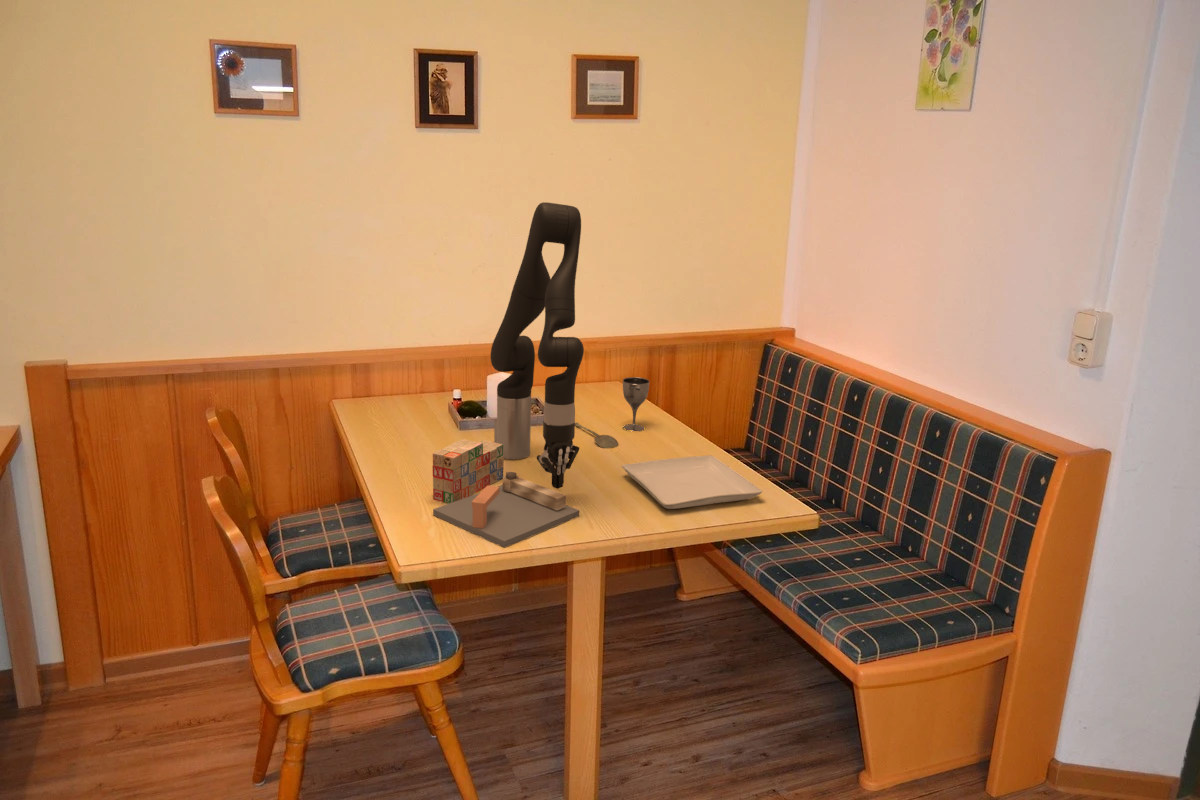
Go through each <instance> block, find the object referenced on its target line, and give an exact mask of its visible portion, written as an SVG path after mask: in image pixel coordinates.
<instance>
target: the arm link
mask: <svg viewBox="0 0 1200 800" xmlns="http://www.w3.org/2000/svg"><path fill="white" fill-rule="evenodd" d="M502 485H503V490H504V491H506V492H511V493H514V494H516V495H519V496H521V497H524V498H526V499H529V500H531V501H534V502H536V503H539V504H541V505H544V506H546V507H549V508H551V509H554V510H560V509H562V508H565V507H566V505H567V495H566V494H563V493H561V492H558V491H557V490H556V491H555V490H553V489H550V488H548V487H545V486H543V485H540V484H538V483H535V482H533V481H529V480H527V479H524V478H521V477H520V476H519V475H517V472H514V471H507V472H506V473H505V475H503V478H502Z"/></svg>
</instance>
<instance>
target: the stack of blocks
mask: <svg viewBox="0 0 1200 800" xmlns="http://www.w3.org/2000/svg"><path fill="white" fill-rule="evenodd" d="M503 476H504V457H503V444H499V443H495V442H493V441H489V440H484V439H483V440H481V441H480V442H479V441H474V440H470V439H464V438H462V439H460V440H458V441H455V442H453V443H452V444H449V445H447V446H445V447H443V448H441V449H437V450H436V451H435V452H433V453H432V487H433V488H432V491H433V493H432V494H433V495H432V498H433V500H434V501H437V502H441V503H445V504H449V503H452V502H455V501H458V500H461V499H464V498H466V497H469V496H472V495H475V494H477V493H479V492H481V491H482V490H483V489H484V488H485V487H486V486H492V484H495V483H496V482H498V481H500V480H503ZM481 489H482V490H481Z"/></svg>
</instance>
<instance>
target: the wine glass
mask: <svg viewBox="0 0 1200 800" xmlns="http://www.w3.org/2000/svg"><path fill="white" fill-rule="evenodd" d="M649 389H650V380H649V379H647V378H644V377H638V376H631V377H629V376H628V377H624V378H623V379H622V393H623V398H624V399H625V401H626V403H627V404H628V405H629V406H630V408H631V411H632V423H628V425H627V424H625V426H624V425H623V426H624V427H623V428H625V429H626V430H625V431H627V430H632V431H639V432H643V431H645V430H644V427H645V426H644V425H642V424H638V425H637V422H636V417H637V411H638V409H639V408H640V406H641V405H642V404H643V403H644V402H645V401H646V399H647V398H648V394H649ZM641 425H642V426H641ZM623 428H622V429H623ZM642 430H643V431H642ZM632 431H631V432H632Z"/></svg>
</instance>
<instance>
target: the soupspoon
mask: <svg viewBox="0 0 1200 800" xmlns="http://www.w3.org/2000/svg"><path fill="white" fill-rule="evenodd" d="M575 426H577V427H576V428H580V429H583V430H585V431H587V432H589V433H590V434H592V435H593V436H595V437H594V442H595V443H596V444H597V446H599V447H600V448H602V449H614V448H617V447H619V441H618V440H617V439H616V438H615V437H613V436H611V435H608V434H601V435H600V434H598V433H597V432H595V431H593V430H591V429H589V428H587V427H586V426H585V427H584V426H583V425H582V424H580V423H579V422H576V421H575Z"/></svg>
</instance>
